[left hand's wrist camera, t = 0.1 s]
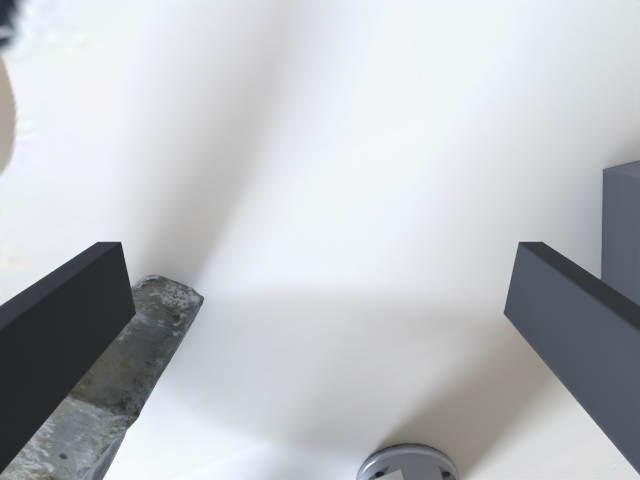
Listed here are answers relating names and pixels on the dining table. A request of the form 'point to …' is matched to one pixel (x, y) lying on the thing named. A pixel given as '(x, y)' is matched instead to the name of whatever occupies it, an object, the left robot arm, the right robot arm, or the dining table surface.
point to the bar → (621, 230)
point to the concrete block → (110, 389)
